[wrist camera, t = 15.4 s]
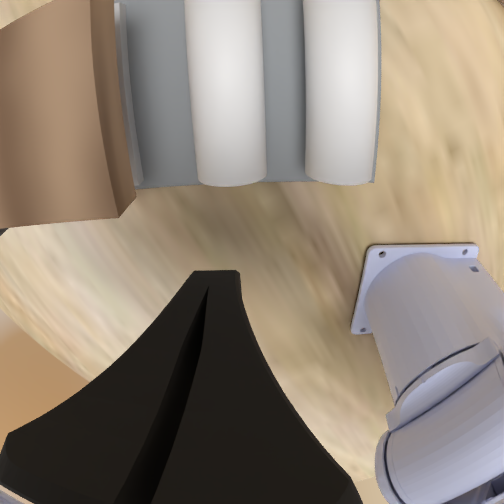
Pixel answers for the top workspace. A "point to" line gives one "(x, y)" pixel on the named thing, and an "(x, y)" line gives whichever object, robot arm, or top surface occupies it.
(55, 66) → the walnut slab
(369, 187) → the top surface
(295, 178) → the roller bed
